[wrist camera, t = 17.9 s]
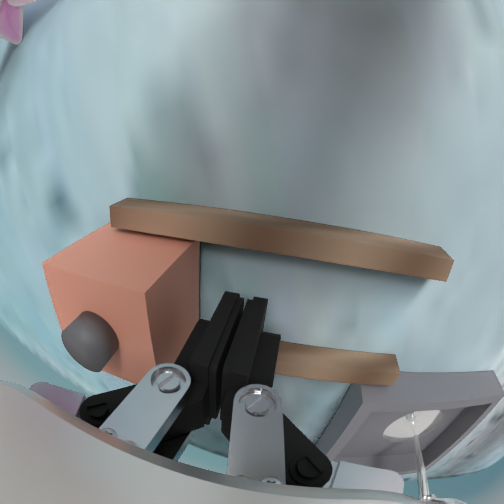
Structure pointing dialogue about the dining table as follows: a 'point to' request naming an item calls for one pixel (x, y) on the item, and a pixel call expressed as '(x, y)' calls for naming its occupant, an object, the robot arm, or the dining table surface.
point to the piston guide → (304, 246)
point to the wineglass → (418, 447)
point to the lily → (12, 19)
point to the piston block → (125, 299)
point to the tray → (401, 404)
